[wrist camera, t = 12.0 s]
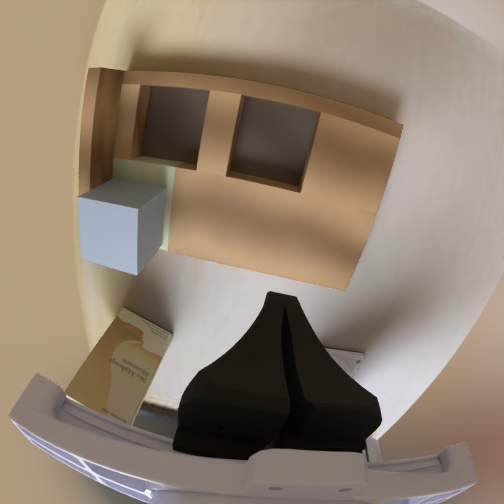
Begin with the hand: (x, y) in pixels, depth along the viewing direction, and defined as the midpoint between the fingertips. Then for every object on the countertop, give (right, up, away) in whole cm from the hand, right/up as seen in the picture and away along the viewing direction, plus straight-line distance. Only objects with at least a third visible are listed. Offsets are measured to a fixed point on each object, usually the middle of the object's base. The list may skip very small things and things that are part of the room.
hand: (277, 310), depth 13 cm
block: (-10, +6, +7) cm, 13 cm away
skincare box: (-13, -6, +16) cm, 21 cm away
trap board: (-2, +8, +7) cm, 11 cm away
